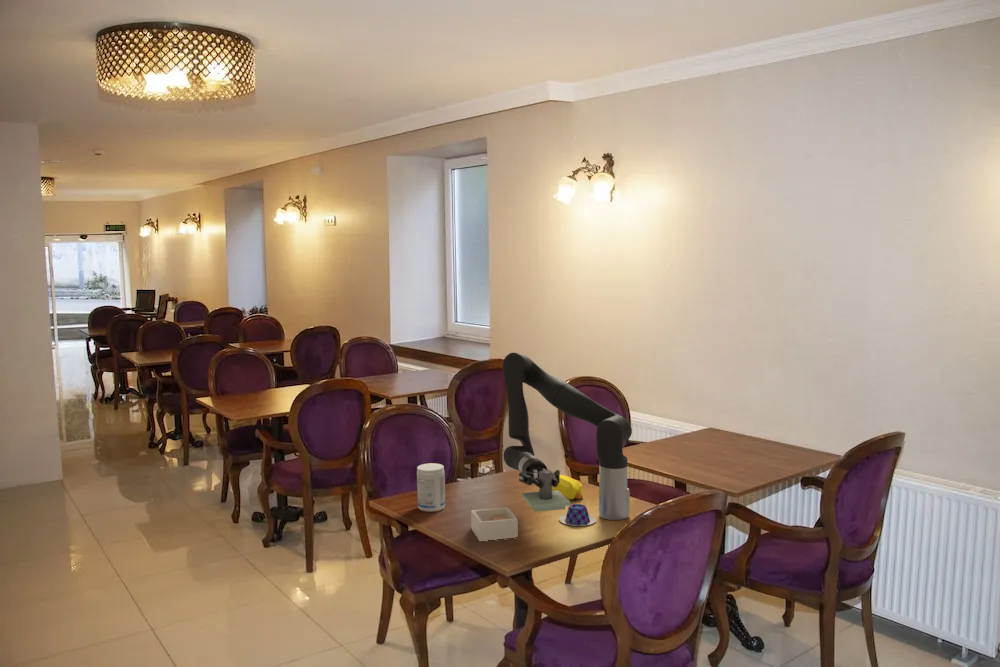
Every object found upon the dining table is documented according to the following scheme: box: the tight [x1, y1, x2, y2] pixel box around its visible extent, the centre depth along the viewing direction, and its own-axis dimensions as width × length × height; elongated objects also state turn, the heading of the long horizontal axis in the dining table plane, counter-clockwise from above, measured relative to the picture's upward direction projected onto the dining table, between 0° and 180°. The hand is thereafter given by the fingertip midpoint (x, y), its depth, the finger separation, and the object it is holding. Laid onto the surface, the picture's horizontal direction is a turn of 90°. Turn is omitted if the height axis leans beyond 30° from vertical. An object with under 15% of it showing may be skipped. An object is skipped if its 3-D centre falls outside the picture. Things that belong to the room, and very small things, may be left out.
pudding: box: [558, 503, 597, 527], centre depth 251 cm, size 12×12×5 cm
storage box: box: [470, 506, 519, 542], centre depth 240 cm, size 12×12×6 cm
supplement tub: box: [416, 462, 446, 513], centre depth 265 cm, size 10×10×15 cm
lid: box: [521, 470, 572, 513], centre depth 236 cm, size 12×12×10 cm
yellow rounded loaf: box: [552, 474, 584, 501], centre depth 279 cm, size 18×7×8 cm
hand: (548, 484), depth 233 cm, fingers closed on lid, 4 cm apart
